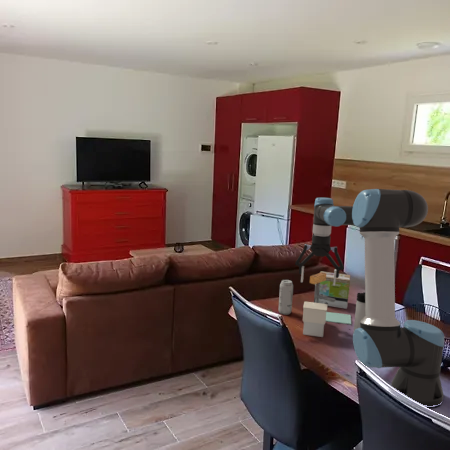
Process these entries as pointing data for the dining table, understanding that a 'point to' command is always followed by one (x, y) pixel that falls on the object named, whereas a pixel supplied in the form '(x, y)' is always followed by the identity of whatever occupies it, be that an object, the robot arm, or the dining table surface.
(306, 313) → the cover
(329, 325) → the dining table surface
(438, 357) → the robot arm
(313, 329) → the block
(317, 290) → the t key
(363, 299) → the travel mug
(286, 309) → the energy drink can
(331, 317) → the mat
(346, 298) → the tea box
